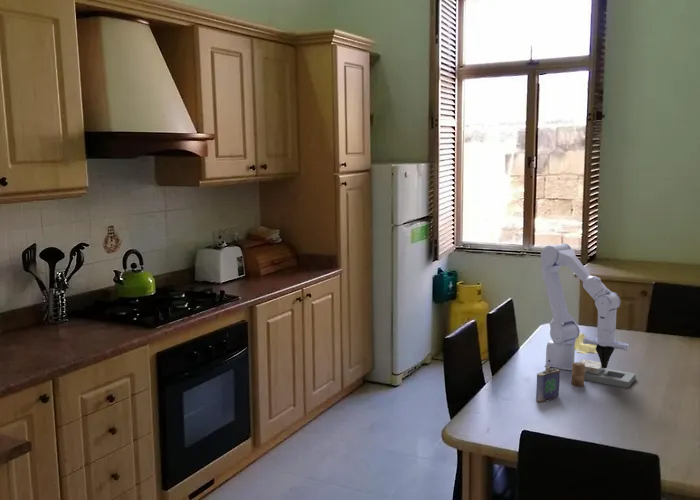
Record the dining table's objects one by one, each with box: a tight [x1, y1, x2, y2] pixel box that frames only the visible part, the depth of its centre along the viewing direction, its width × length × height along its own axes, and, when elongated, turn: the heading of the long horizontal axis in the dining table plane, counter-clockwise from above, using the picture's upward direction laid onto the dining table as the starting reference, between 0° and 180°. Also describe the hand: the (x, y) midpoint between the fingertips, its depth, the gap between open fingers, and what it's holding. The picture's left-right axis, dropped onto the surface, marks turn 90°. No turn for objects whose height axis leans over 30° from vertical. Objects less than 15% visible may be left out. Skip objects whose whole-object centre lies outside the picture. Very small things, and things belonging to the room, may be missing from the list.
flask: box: [535, 365, 561, 403], centre depth 210 cm, size 9×3×11 cm, turn 121°
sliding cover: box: [578, 358, 604, 374], centre depth 231 cm, size 8×8×2 cm
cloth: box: [575, 332, 598, 355], centre depth 263 cm, size 22×19×6 cm
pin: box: [571, 362, 585, 388], centre depth 223 cm, size 4×4×7 cm
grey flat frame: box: [584, 367, 637, 389], centre depth 229 cm, size 18×10×2 cm, turn 54°
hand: (604, 367), depth 228 cm, fingers closed
